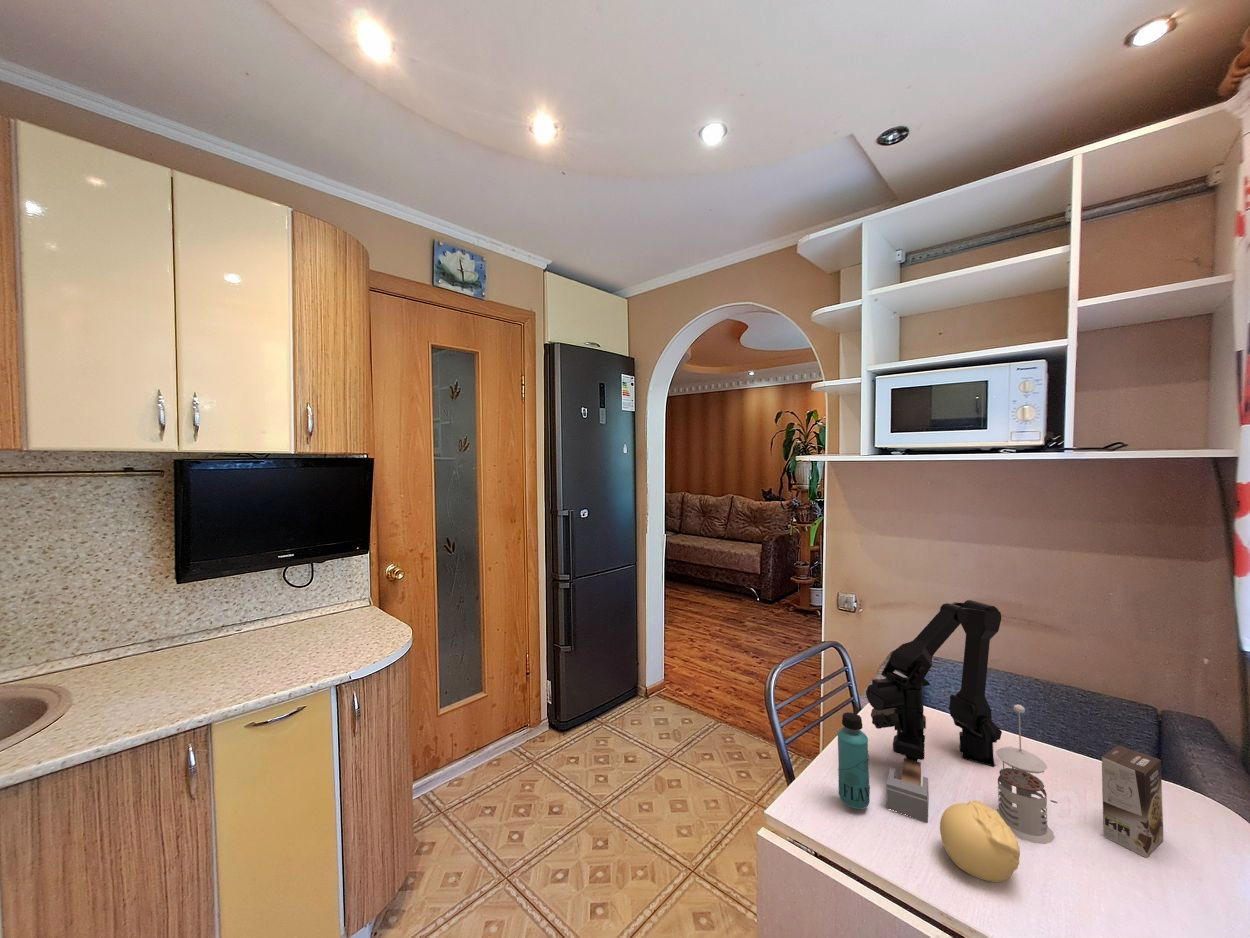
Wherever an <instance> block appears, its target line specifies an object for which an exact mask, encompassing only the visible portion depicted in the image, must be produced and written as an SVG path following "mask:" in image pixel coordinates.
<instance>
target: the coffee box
mask: <svg viewBox="0 0 1250 938" xmlns="http://www.w3.org/2000/svg"><path fill="white" fill-rule="evenodd" d="M1101 780H1102V781H1101V782H1102V783H1101V784H1102V790H1101V791H1102V819H1103V820H1102V827H1103V829H1102V831H1103V833H1102V835H1103V837H1104V838H1106V839H1108V840H1110V841H1111V842H1114V843H1115V844H1118V845H1120V846H1122V847H1124V848H1126V849H1127V850H1130V851H1132V852H1134V853H1136V854H1138V855H1140V856H1141V855H1142V857H1143V856H1144V857H1143V858H1149V856H1150V855H1151V854H1152V853H1153V852H1154V851H1155V850H1156V849H1157V848H1158V847H1159V846H1160V845H1161V844H1162V843H1163V842H1164V840H1165V839H1164V813H1163V810H1164V809H1163V788H1162V787H1163V785H1162V783H1163V782H1162V759H1159V758H1157V757H1154V756H1151V755H1149V754H1146V753H1143V752H1140V751H1138V750H1134V749H1130V748H1128V747H1125V746H1122V745H1120V744H1117V745H1115V747H1113V748H1112V749H1111V750H1109V751H1108V752H1107V753H1105V754H1104V755H1102V756H1101Z"/></svg>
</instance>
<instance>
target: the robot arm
mask: <svg viewBox="0 0 1250 938" xmlns="http://www.w3.org/2000/svg"><path fill="white" fill-rule="evenodd" d="M1001 622H1002V613H1001V611H1000V610H999V609H998V608H997V607H996V606H995V605H991V604H987V603H983V602H979V601H976V600H972V599H967V600H965V601H964V602H958V601H957V602H956V601H955V602H952V603H949V602H946V603H943V604H941V606H940V608H939V611H938V612H937V613H936V614H935V615H934V617H933V618H932V619H931V620H930V621H929V622H928V623H927V624H926V626H925V627H924V628H923V629H922V630H921V631H920V633H919V634H918V635H917V636H916V637H915V638H914V639H913V640H911V641H907V642H906V643H902V644H900V645H899V646H898V647H897V648H895V650H893V651H892V652H891V654H890V656H889V659H888V661H886V664H885V666H884V668H883V670H882V672H881V676H882V677H884V678H880V679H878V678H875V679H872V680H871V684H868V686H867V688H866V690H865V697H866V699H867V701H868V703H869V705H870V706H871V707H872V709H871V711H870V717H871V724H872V725H874V727H875V729H878V730H879V729H884V728H892V727H894V731H896V735H894V736H893V741H892V749H893V750H892V752H894V753H895V754H899V755H902V756H905V758H907V759H911V760H914V761H918V762H919V760H920V761H922V760H923V761H924V760H925V748H926V747H925V741H926V736H925V734H924V733H925V729H926V728H927V727H926V726H927V717H926V716H925V714H924V710H925V709H924V694H923V691H924V690H923V688H924V687H925V686H926V687H927V686H930V684H931V683H930V682H929V681H928V680H927V679H926V678H925V677H926V676H927V674H928V673H929V671H930V670H931V668H932V667H933V666H932V665H933V657H934V655H935V654H936V652H937V651H938V650H939V649H940V648H941V646H942V645H943V644H944V643H945V642H946V641H947V640H948V639H949V638H950V636H951V635H952V634H953V633H954V632H955V631H956V630H957V628H958V627H959V626H960V625H961V627H962V630H963V631H964V634H965V639H964V641H965V642H964V652H963V663H962V673H961V682H960V683H961V685H960V689H959V691H958V692H957V693H955V694H950V696H949V706H948V708H947V709H948V710H949V715H950V717H951V718H952V720H953V723H954V725H955V726H957V727H958V728H961V731H959V751H960V753H962V758H963V759H965V760H968V761H969V760H970V761H973V762H977V763H980V764H984V765H988V766H992V767H995V766H996V765H995V758H994V744H996V743H997V742H998V740H999V741H1000V740H1001V737H1002V733H1003V731H1002V730H1001V729H1000V728H999V727H998V726H997V724H995V723H994V722H993V721H992V719H993V718H992V709H991V707H990V704H989V702H988V701H987V699H986V688H987V686H986V685H987V673H988V664H989V654H990V653H989V652H990V642H991V639H993V637H994V636H995V635H997V634H998V632H999V630H1000V625H1001ZM896 672H897V673H899V674H897V673H896ZM900 674H901V675H900ZM902 675H903V676H904V677H903V676H902Z"/></svg>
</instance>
